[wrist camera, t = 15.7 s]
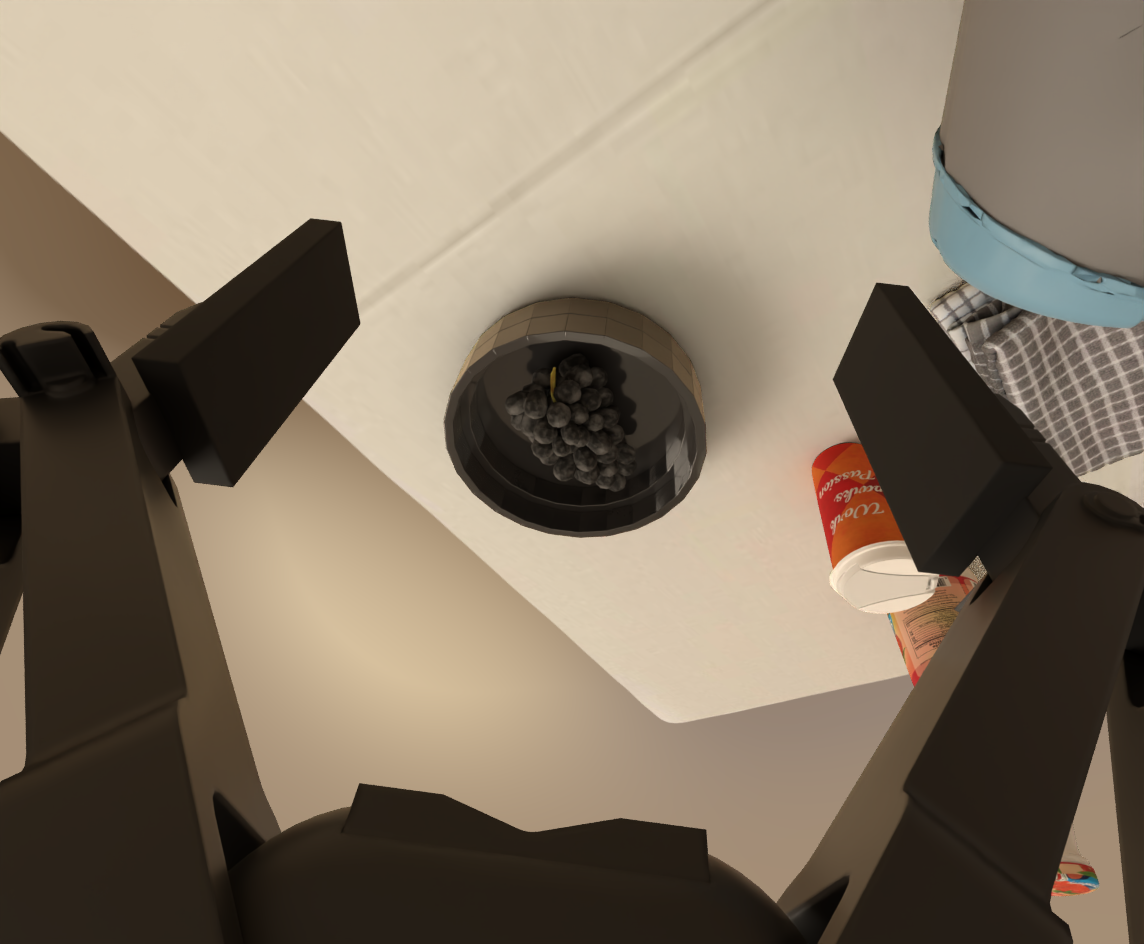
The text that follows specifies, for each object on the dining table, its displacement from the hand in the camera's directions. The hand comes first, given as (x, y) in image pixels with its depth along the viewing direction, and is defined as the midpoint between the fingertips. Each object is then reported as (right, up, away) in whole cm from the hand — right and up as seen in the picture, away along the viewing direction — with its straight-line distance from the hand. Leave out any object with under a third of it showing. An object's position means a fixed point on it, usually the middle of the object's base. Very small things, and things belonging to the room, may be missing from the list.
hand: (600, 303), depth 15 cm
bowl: (0, +2, +37) cm, 37 cm away
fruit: (0, +1, +37) cm, 37 cm away
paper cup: (+25, -4, +39) cm, 46 cm away
